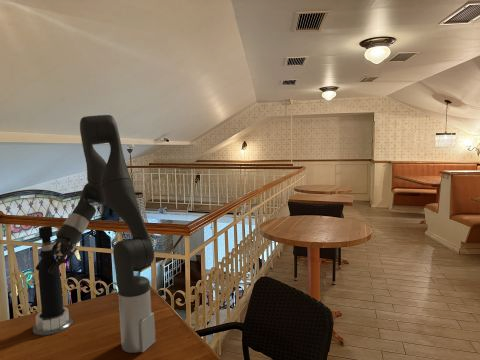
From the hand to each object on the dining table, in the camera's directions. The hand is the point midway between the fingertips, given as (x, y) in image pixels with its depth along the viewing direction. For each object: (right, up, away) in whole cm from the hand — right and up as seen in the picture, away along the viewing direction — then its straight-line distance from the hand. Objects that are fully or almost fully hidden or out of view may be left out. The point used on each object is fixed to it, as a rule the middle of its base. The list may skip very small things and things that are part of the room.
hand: (44, 271), depth 111 cm
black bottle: (+1, -15, +3) cm, 16 cm away
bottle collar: (+1, -20, +3) cm, 20 cm away
